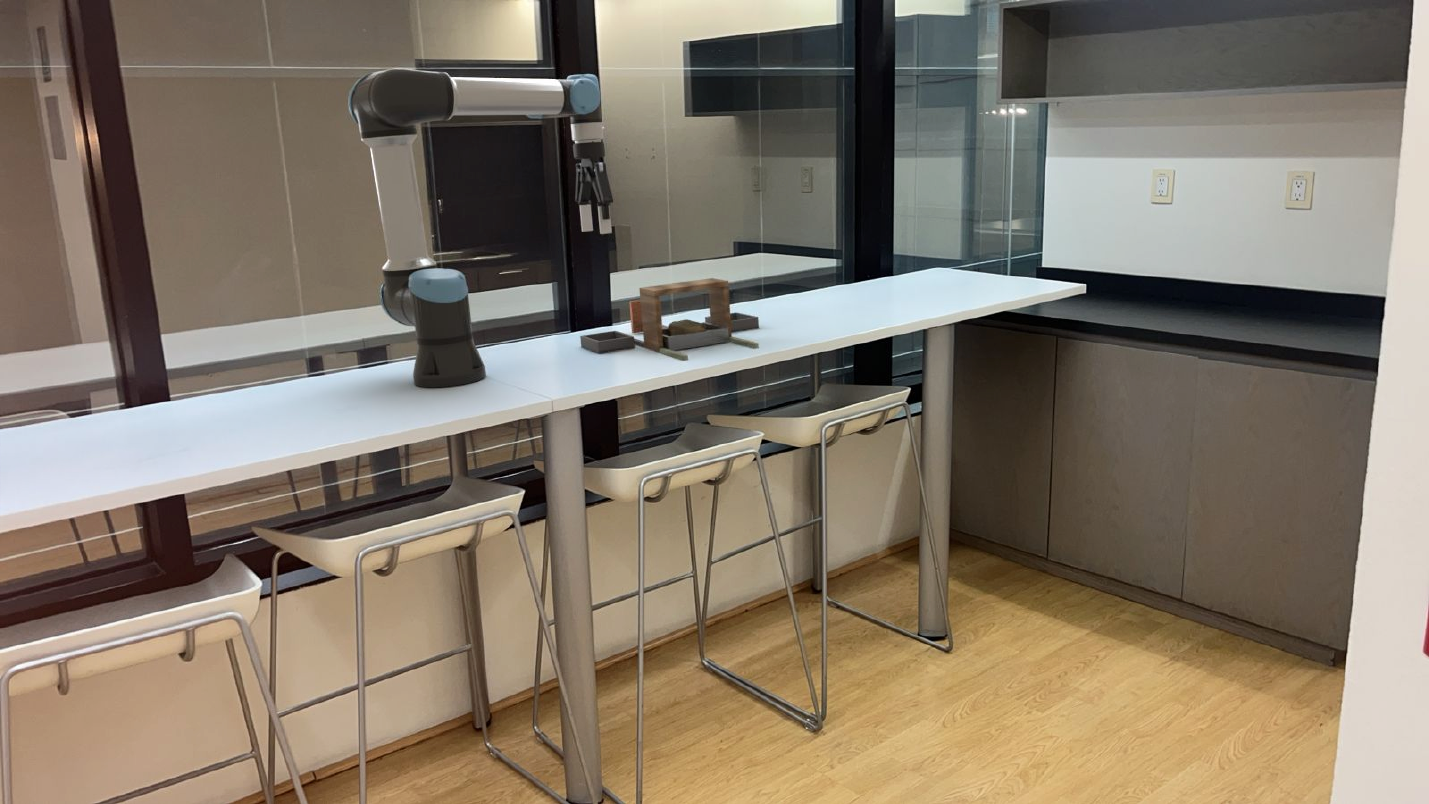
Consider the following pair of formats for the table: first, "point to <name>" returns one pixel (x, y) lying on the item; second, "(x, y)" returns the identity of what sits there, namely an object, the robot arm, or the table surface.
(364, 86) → the robot arm
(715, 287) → the tunnel
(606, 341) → the tray
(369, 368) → the table surface
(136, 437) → the table surface
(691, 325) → the stone block
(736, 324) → the pit tray far
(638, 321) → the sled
